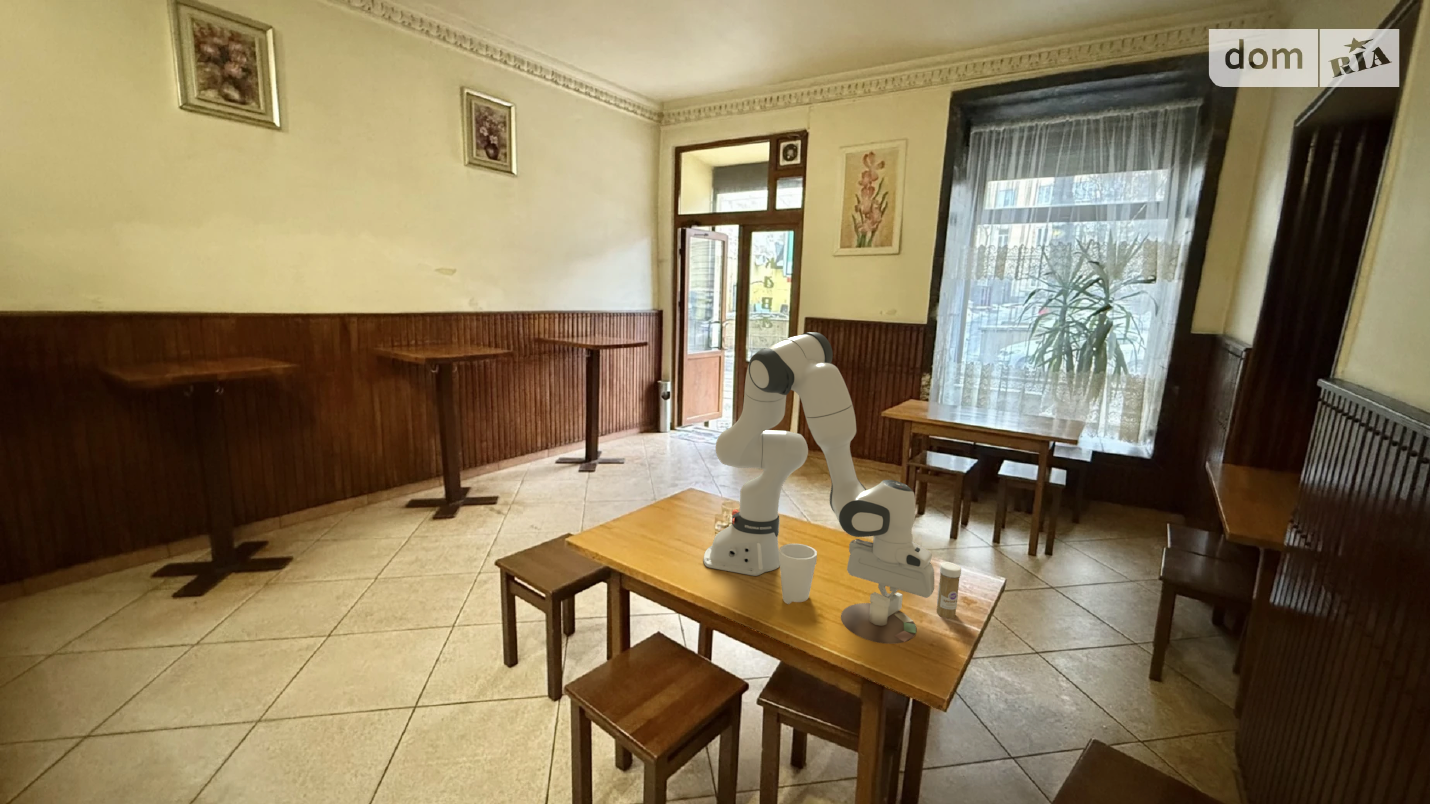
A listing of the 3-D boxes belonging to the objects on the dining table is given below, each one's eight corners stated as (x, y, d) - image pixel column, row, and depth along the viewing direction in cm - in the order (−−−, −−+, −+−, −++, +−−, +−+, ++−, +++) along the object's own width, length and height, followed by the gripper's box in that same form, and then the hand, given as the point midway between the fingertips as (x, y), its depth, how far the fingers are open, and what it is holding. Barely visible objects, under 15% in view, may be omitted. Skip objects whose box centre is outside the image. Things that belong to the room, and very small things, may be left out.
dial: (843, 644, 123) (844, 638, 123) (837, 604, 140) (837, 599, 140) (923, 652, 121) (924, 646, 121) (907, 611, 138) (908, 606, 138)
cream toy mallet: (880, 627, 128) (883, 602, 127) (865, 620, 131) (867, 595, 130) (906, 611, 135) (908, 587, 134) (891, 604, 138) (893, 581, 137)
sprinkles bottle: (945, 624, 132) (951, 571, 130) (931, 615, 137) (936, 563, 134) (959, 620, 134) (965, 568, 132) (945, 611, 138) (950, 560, 136)
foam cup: (813, 611, 137) (816, 561, 134) (775, 607, 138) (778, 557, 136) (813, 592, 146) (816, 545, 144) (778, 588, 147) (780, 541, 145)
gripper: (845, 540, 137) (841, 593, 139) (932, 564, 126) (926, 621, 128) (854, 533, 142) (850, 584, 144) (939, 554, 131) (933, 609, 133)
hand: (887, 601), depth 136 cm, fingers closed
